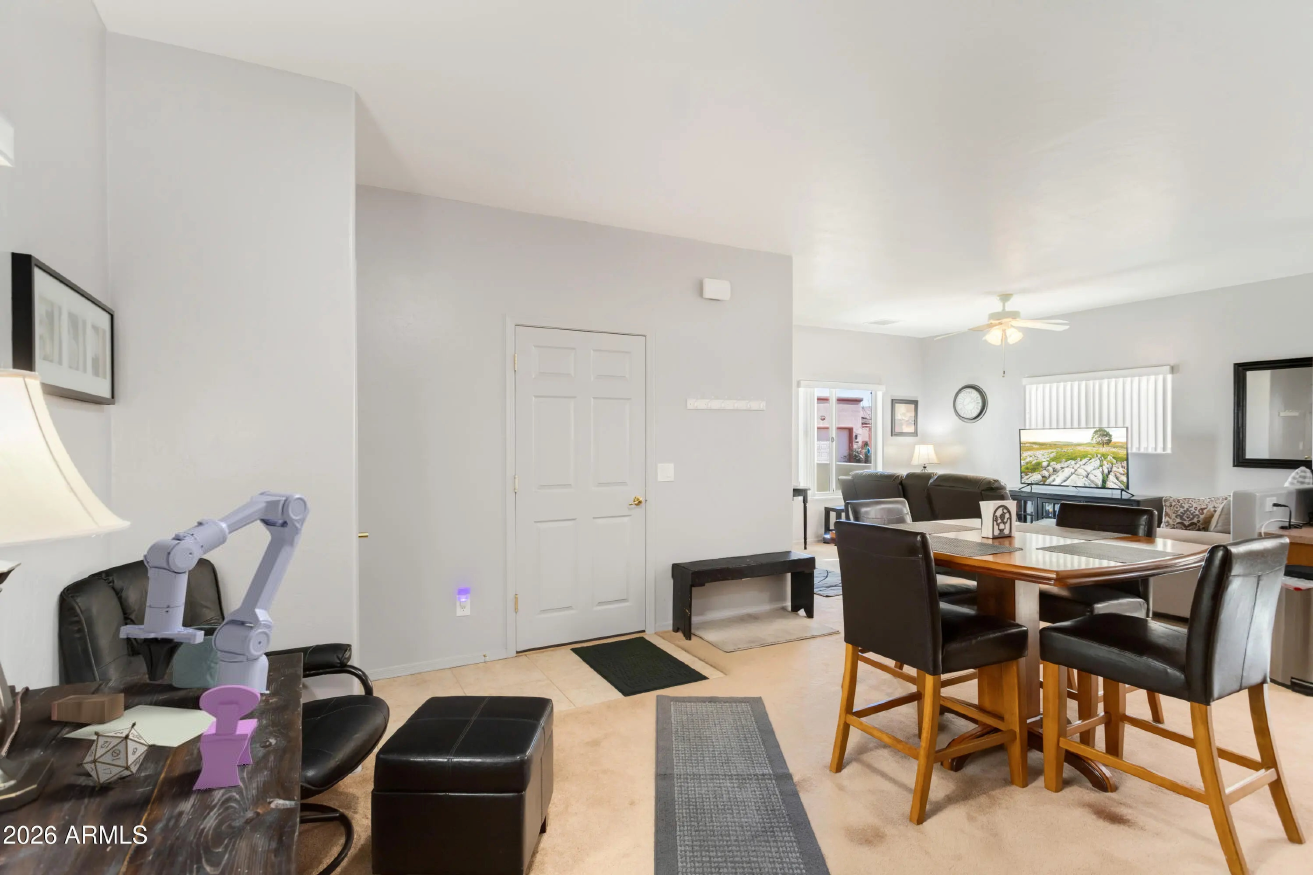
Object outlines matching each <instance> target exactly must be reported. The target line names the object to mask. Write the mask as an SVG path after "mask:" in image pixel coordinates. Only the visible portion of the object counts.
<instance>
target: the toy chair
mask: <svg viewBox="0 0 1313 875" xmlns="http://www.w3.org/2000/svg"><path fill="white" fill-rule="evenodd" d="M260 700H261V693H259V692H258V691H256V690H255V689H252V688H249V687H246V686H240V685H226V686H220V687H216V688H213V689H212V688H209V689H208V690H207V691H205V692H204V693H202V695H201V696H200V698H199V707H200V709H201V710H203V711H205V712H207V713H208V714H210V715H212V716H213V717H215V718H216V721H213V722H212V723H211V725H210V726H209V728H208V729H207V730H206V731H205V732H203V733H202V734H201V735H200V743H199V750H200V754H201V757H202V758H201V759H202V767H201V771H200V774H199V777H197V778H198V779H197V780H196V781H195V784H194V785H193V788H192V791H197V790H196V789H201V790H209V789H208V788H213V789H216V788H215V787H226V788H229V787H228V786H234V785H240V786H241V781H240V777H239V772H238V771H239V770H238V766H247V765H246V764H251V765H253V760H252V756H251V750H250V745H251V744H250V743H251V739H252V737H253V735H254V733H255V732H256V730H257V728H258V718H254V719H253V718H251V719H250V718H248V719H241V718H242V717H244V716H245V715H247V714H250V713H251V712H252V711H253V710H254V709H256V708H257V706H258V705H259V703H260ZM240 719H241V720H240ZM243 764H245V765H243ZM237 765H238V766H237ZM206 788H207V789H206Z"/></svg>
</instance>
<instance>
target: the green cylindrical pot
mask: <svg viewBox="0 0 1313 875" xmlns="http://www.w3.org/2000/svg"><path fill="white" fill-rule="evenodd" d="M219 626H220V625H198V626H191V627H190V626H189V627H188V628H189V629H194V630H199V631H204V637H203V642H200V643H197V644H191V643H190V642H183V644H182V646H181V647H180V648H179V649H178V651H177V652H176V654H175V655H174V657H173V659H172V662H173V666H172V670H173V671H172V683H171V684H172V686H173V687H175V688H180V689H195V688H200V689H201V688H203V689H213V688H216V684H217V676H218V667H219V659H220V658H219V657H217V653H218V652H217V651H216V650H215V649H214V648H213V645H212V638H213V635H214V633H215V631H216V630H217V628H218V627H219Z"/></svg>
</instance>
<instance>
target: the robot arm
mask: <svg viewBox="0 0 1313 875" xmlns="http://www.w3.org/2000/svg"><path fill="white" fill-rule="evenodd" d="M310 512H311V509H310V506H309V504H308V500H307V499H306V497H305V496H304V495H303V494H301V493H287V492H275V491H270V490H264V491H261V492H260V493H258V494H256V495H252V496H251V497H250V500H249V501H247V502H246V503H244V504H242V505H241V506H239V507H238V508H235V509H234V510H233V511H231V512H229V513H228V514H226V515H224V516H223V517H221V518H219V519H218V520H216V519H213V518H207V519H204V518H201V519H200V520H198V521H196V525H194V526H192V527H190V528H188V529H186V530H184V531H182V532H181V531H179V532H177V533H175V534H174V536H173V537H171V539H170V538H169V539H167V538H166V539H165V538H164V539H159V540H156V541H155V542H154V543H152V544H151V546H150V547H149V548H148V549H147V551H146V553H145V554H143V558H142V559H143V563H144V565H145V566H146V567H147V577H148V578H149V580H148V588H147V598H146V606H145V612H144V620H143V624H139V625H138V624H137V625H136V624H127V625H124V626H121V627H120V629H119V639H126V638H134V639H135V638H136V639H143V640H142V642H139V643H137V645H136V646H137V648H136V649H137V650H138V651H139V652H140V655H141V657H142V659H143V661H144V663H145V668H146V671H147V672H146V673H147V677H148V678H147V679H148V681H149V682H159V681H161V680H164V679H165V677H166V674H167V672H168V668H169V667H170V664H171V662H173V659H174V655H175V654H176V652H177V651H178V649H179V648H180V647H181V646H182V644H183V642H190V643H191V644H197V643H200V642H203V637H204V631H199V630H194V629H189V627H185V626H183V620H184V618H183V617H184V610H185V603H186V602H185V601H186V594H187V593H186V592H187V586H188V576H189V571H191V570H192V569H193V568H195V566H196V565H197V563H198V561H199V559H200V558H203V556H205V555H207V554H208V553H210V552H212V551H214V550H216V548H219V547H220V546H223V545H224V544H226V542H227V540H228V536H229V535H230V534H232V533H234V532H237V531H238V530H241V529H243V528H245V527H246V526H249V525H250V524H253V523H254V522H257V521H259V522H260V523H261V525H262V526H263V527H264V528H265V529H266V531H268V533H269V534H270V540H269V543H268V544H267V546H266V548H265V551H264V553H263V555H262V558H261V560H260V562H259V564H258V566H257V569H256V571H255V574H254V576H253V578H252V579H251V582H250V584H249V585H248V586H249V587H248V588H247V590H246V593H245V595H244V597H243V599H242V602H241V603H240V605H239V607H238V608H236V609H234V610H233V611H231V612H230V613H228V614H226V616H225V618H224V620H223V622H222V623H221V624H220V625H218V626H219V627H218V628H217V630H216V631H215V633H214V635H213V638H212V645H213V648H214V649H215V650H216V651H217V652H218V653H217V657H219V658H220V659H219V667H218V676H217V684H216V687H220V686H226V685H240V686H246V687H249V688H252V689H255V690H256V691H258V692H259V693H260V694H270V690H266V689H267V680H268V672H269V660H268V658H267V656H266V655H265V653H267V650H268V649H269V647H270V646H271V642H272V641H271V640H272V633H273V629H274V626H275V623H274V621H273V620H272V618H271V617H270V615H269V611H270V609H271V607H272V605H273V602H274V600H275V598H276V595H277V593H278V591H279V588H280V586H281V584H282V581H283V579H284V577H285V575H286V573H287V570H288V568H289V565H290V563H291V560H292V558H293V556H294V553H295V551H296V549H297V547H298V544H299V543H300V540H301V538H302V537H301V536H302V532H303V528H304V525H305V523H306V521H307V519H308V516H309V513H310Z"/></svg>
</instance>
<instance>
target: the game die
mask: <svg viewBox="0 0 1313 875" xmlns="http://www.w3.org/2000/svg"><path fill="white" fill-rule="evenodd" d="M135 725H136V722H134V723H132V725H131V727H130V728H126V729H121V730H117V731H113V732H109V733H105V734H99V732H97V731H94V735H95V736H97V738H96V740H95V739H94V742H93V743H92V745H91V747H90V749H89V751H88V752H87V754H85V756H84V758H83V761H82V762H78V763H76V764H75V765H74V767H76V768H79V767H81V766H82V767H83V768H84V769H85V770H86V771H87V772H88V774H89V775H90V776H91V777H92V778H93V779H94V781H95V782H97V785H96V786H95V791H96V790H97V791H98V790H100V789H101V787H102V785H104V784H107V783H110V782H114V781H118V780H119V779H120V778H123V777H127V776H130V775H134V774H136V773H137V771H138V769H139V768H140V766H141V764H142V762H143V760H144V758H146V755H147V753H148V752H149V750H150V748H155V747H156V746H158V745H157V744H151V745H149V744H148V743H147V742H146V741H145V740H144V739H143V738H142V737H141V735H140V734H139V733H138V732H137V731H136V730H135V729H134V726H135Z"/></svg>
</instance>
